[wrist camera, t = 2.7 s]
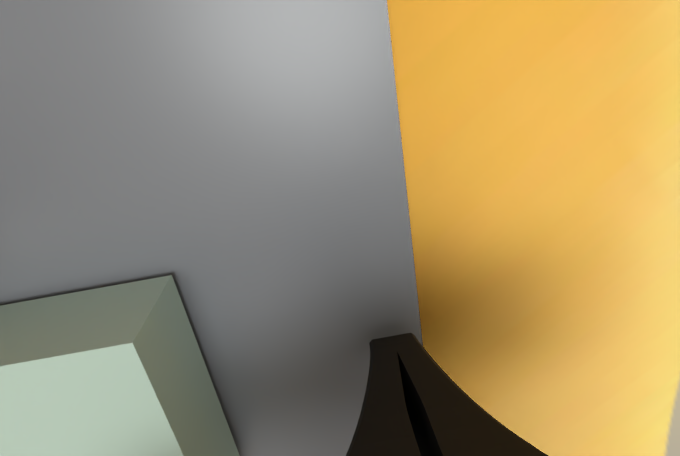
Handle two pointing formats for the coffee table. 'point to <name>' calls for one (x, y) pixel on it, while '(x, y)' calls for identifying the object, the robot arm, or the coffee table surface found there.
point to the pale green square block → (107, 376)
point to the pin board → (218, 188)
